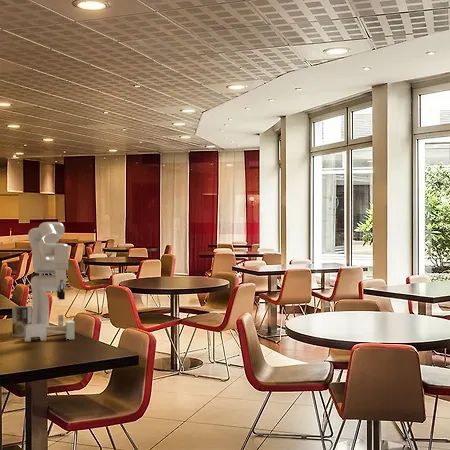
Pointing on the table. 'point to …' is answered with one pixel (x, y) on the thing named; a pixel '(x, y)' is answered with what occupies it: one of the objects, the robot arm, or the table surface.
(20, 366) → the table surface
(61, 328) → the inner bar
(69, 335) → the socket block
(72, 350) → the table surface
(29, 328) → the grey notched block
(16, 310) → the coffee box
